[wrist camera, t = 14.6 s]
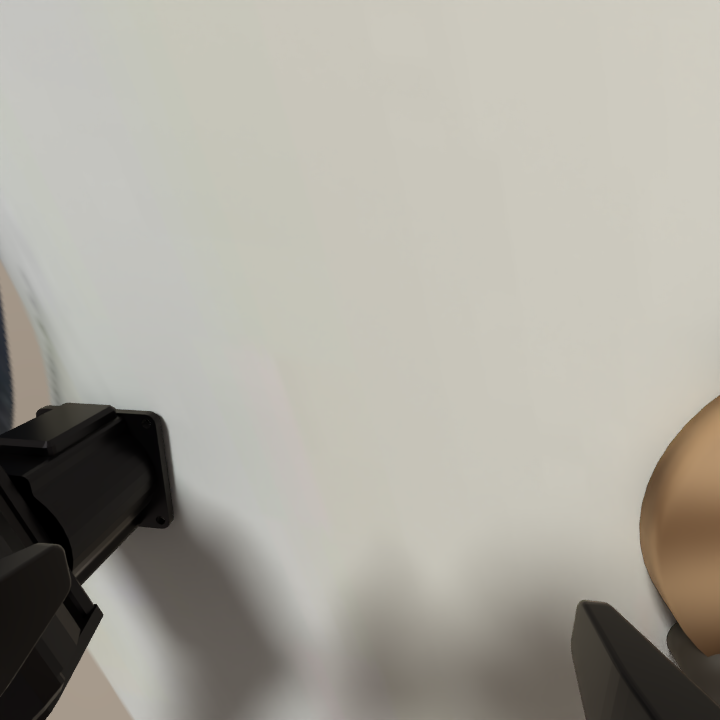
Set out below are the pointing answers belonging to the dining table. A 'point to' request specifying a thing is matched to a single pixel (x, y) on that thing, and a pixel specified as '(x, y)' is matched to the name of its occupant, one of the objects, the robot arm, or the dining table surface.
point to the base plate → (688, 545)
